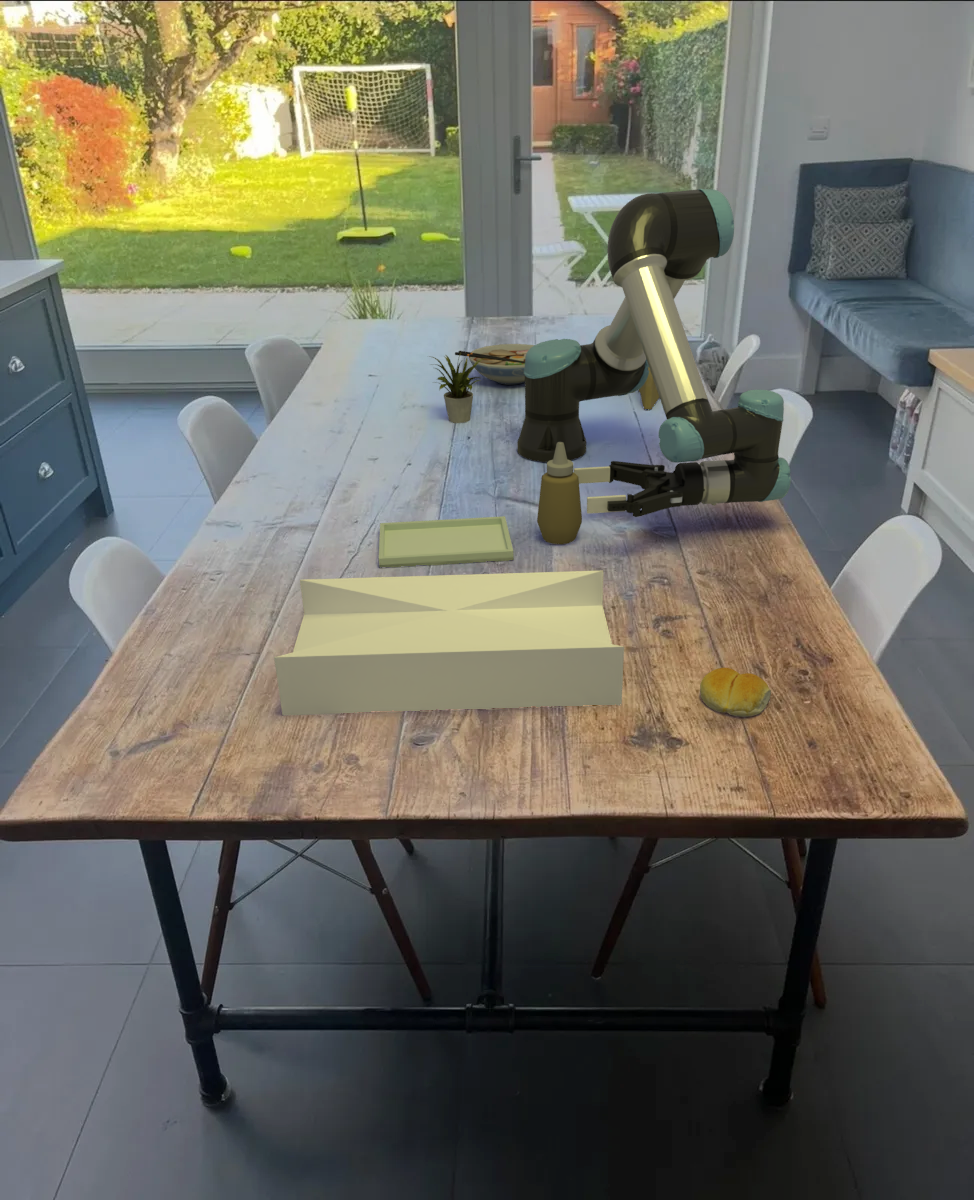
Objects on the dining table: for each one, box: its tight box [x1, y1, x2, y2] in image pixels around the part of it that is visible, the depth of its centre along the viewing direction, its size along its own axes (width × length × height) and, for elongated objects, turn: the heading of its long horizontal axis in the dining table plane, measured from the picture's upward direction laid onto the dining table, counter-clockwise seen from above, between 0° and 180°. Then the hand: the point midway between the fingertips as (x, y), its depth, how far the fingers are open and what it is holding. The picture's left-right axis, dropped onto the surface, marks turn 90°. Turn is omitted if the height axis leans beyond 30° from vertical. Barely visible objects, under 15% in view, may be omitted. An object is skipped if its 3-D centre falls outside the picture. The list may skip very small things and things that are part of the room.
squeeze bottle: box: [536, 442, 583, 545], centre depth 175 cm, size 8×8×18 cm
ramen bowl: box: [454, 343, 534, 386], centre depth 266 cm, size 25×23×8 cm
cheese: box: [638, 367, 660, 410], centre depth 249 cm, size 22×10×15 cm, turn 168°
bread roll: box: [699, 667, 772, 718], centre depth 132 cm, size 8×9×4 cm
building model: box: [273, 570, 625, 717], centre depth 140 cm, size 45×22×10 cm, turn 91°
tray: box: [378, 515, 515, 568], centre depth 177 cm, size 23×15×2 cm, turn 95°
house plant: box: [428, 353, 484, 424], centre depth 236 cm, size 14×14×16 cm
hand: (580, 490), depth 174 cm, fingers open, 13 cm apart
